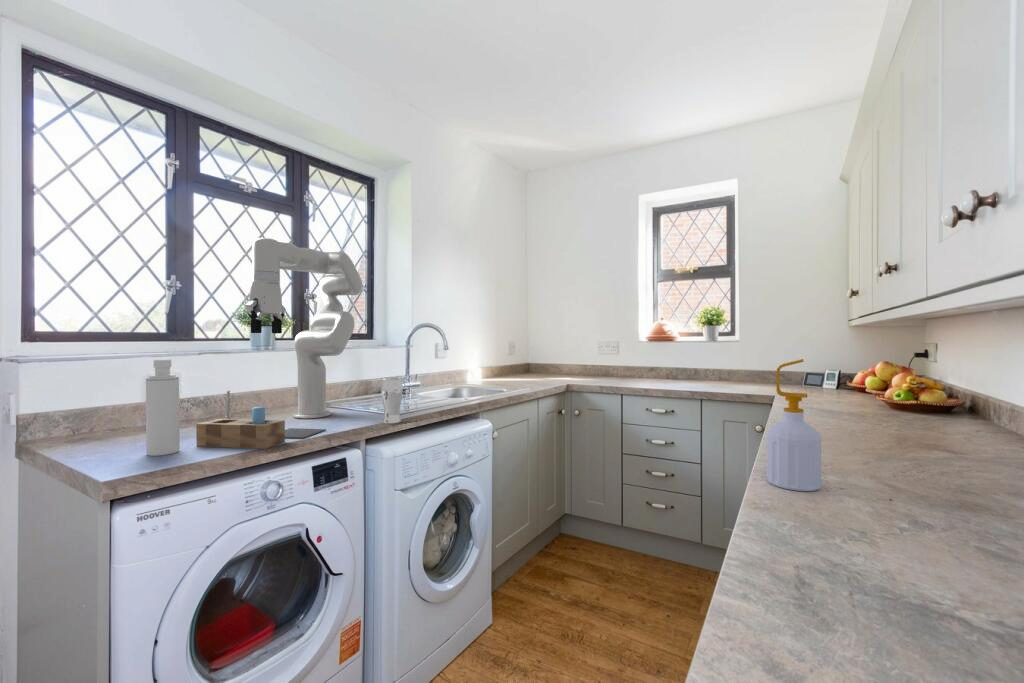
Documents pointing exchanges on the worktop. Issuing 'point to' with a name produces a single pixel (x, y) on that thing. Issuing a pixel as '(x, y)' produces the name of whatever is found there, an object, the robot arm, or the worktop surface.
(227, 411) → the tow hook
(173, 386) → the white capped bottle
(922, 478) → the worktop surface
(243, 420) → the hole block
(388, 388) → the beer glass
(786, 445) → the soap bottle
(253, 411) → the pin
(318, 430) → the mat
